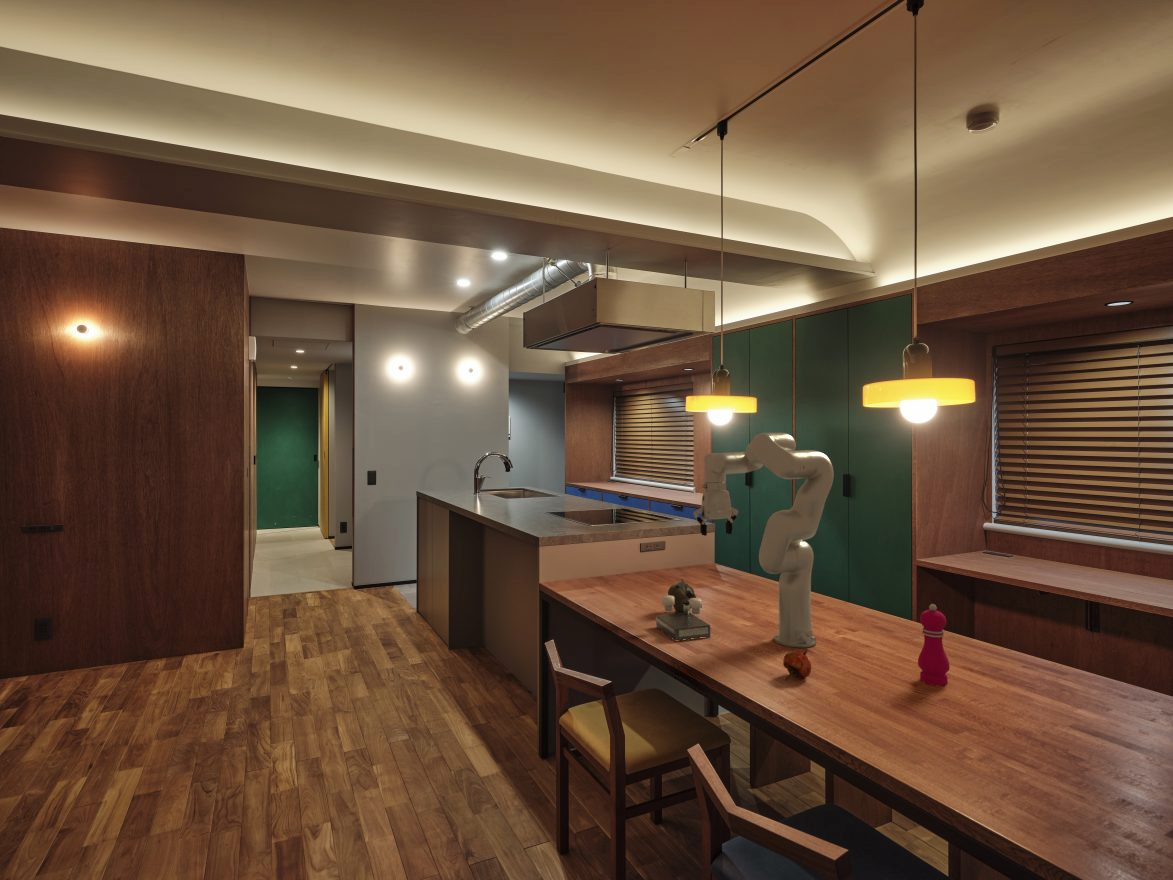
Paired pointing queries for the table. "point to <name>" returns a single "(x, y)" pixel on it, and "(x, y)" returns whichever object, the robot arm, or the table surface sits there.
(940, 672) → the pepper mill
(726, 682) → the table surface
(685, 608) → the dark brown round knob
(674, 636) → the mount
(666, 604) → the knob
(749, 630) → the table surface
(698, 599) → the knob
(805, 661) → the red round fruit
